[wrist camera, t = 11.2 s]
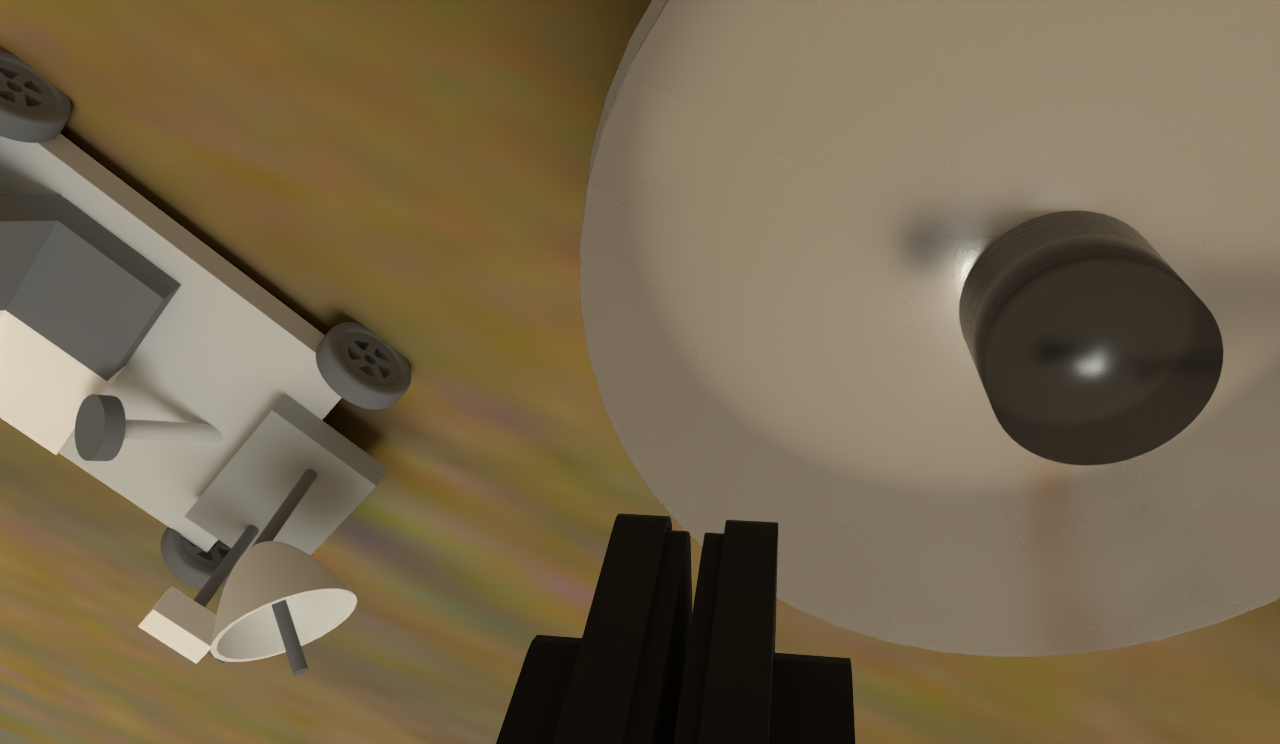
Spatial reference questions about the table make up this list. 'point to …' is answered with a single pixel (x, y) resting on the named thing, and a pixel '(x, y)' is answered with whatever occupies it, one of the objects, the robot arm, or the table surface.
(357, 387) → the toy car
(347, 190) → the table surface
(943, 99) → the lid
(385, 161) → the table surface
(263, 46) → the table surface
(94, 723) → the table surface
